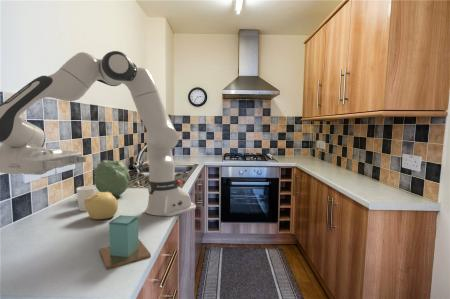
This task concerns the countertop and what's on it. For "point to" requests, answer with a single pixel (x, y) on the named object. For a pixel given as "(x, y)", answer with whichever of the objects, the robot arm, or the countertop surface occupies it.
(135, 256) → the brown square base plate
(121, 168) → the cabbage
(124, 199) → the countertop surface
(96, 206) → the sculpture
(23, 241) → the countertop surface
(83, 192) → the white cup
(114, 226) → the teal tall prism
